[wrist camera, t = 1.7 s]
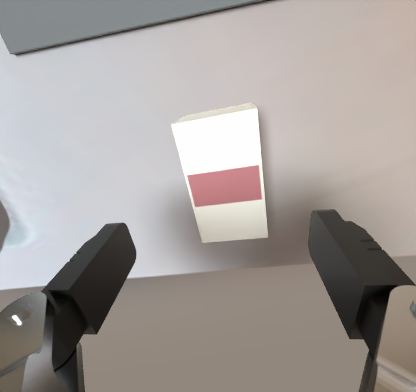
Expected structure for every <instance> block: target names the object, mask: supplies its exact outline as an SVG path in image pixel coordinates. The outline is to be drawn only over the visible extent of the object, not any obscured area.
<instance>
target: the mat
mask: <svg viewBox="0 0 416 392" xmlns="http://www.w3.org/2000/svg"><path fill="white" fill-rule="evenodd" d="M260 1H264V0H0V34H1V36H2V38H3V40H4V42H5V44H6V46H7V49H8V51H9V53H10V54H20V53H24V52H29V51H34V50H38V49H43V48H47V47H52V46H57V45H61V44H66V43H71V42H75V41H80V40H84V39H89V38H94V37H98V36H103V35H108V34H112V33H117V32H121V31H126V30H131V29H135V28H140V27H144V26H149V25H154V24H158V23H163V22H168V21H172V20H177V19H181V18H186V17H191V16H195V15H200V14H204V13H209V12H214V11H218V10H223V9H228V8H232V7H237V6H241V5H246V4H251V3H255V2H260Z"/></svg>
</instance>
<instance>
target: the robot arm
mask: <svg viewBox="0 0 416 392" xmlns="http://www.w3.org/2000/svg"><path fill="white" fill-rule="evenodd" d="M308 245H309V251H310V255H311V258H312V260H313V262H314V264H315V266H316V268H317V270H318V272H319V274H320V277H321V279H322V281H323V283H324V285H325V287H326V290H327V292H328V294H329V296H330V298H331V300H332V302H333V304H334V306H335V309H336V311H337V313H338V315H339V317H340V319H341V322H342V324H343V326H344V328H345V330H346V332H347V334H348V336H349V339H364V341H365V343H366V345H367V346H368V348H369V352H368V354H367V359H366V363H365V367H364V371H363V375H362V380H361V384H360V388H359V392H416V285H415V284H414V283H413V282H412V280H410V278H409V277H408V276H407V275H406V274H405V273H404V272H403V271H402V270H401V268H399V266H398V265H397V264H396V263H395V262H394V261H393V260H392V259H391V258H390V256H389V255H388V254H387V253H386V252H385V251H384V250H382V249H381V247H380V246H379V245H378V243H377V242H376V241H374V239H373V238H372V237H371V236H370V235H369V234H368V233H367V231H366V230H365V229H363V228H362V227H360V226H358V225H356V224H355V223H353V222H351V221H346V222H345V221H344V220H343V219H342V218H341V216H340V215H339V214H338V213H337V212H336V211H335V210H334V209H331V210H316V211H312V213H311V220H310V230H309V240H308ZM135 260H136V249H135V246H134V243H133V241H132V238H131V235H130V233H129V230H128V227H127V225H126V224H125V223H112V224H106V225H105V226H104V227H103V228H102V229H101V230H100V231H99V232H98V233H97V235H96V236H94V237H93V238H91V239H90V240H89V241H87V242H86V243H84V245H83V246H82V247H81V248H80V249H79V250H78V251H77V254H74V256H73V257H72V258H71V259H70V262H67V263H66V264H65V266H64V267H63V268H62V269H61V270H60V271H59V272H58V273H57V274H56V276H55V277H54V278H53V279H52V280H51V281H50V282H49V283H48V284H47V286H46V287H45V288H44V289H43V290H42V291H41V292H34V293H30V294H27V295H25V296H22V297H21V298H19V299H17V300H15V301H13V302H12V303H10V304H9V305H8V306H7V307H5V308H4V309H3V310H2V311H1V312H0V392H85V385H84V370H83V357H82V346H81V343H80V342H79V341H80V339H81V337H82V336H83V334H97V333H98V331H99V329H100V327H101V326H102V324H103V322H104V320H105V318H106V316H107V314H108V312H109V310H110V308H111V306H112V305H113V303H114V301H115V299H116V297H117V295H118V293H119V291H120V289H121V288H122V286H123V284H124V282H125V280H126V278H127V276H128V274H129V272H130V270H131V269H132V267H133V265H134V263H135Z"/></svg>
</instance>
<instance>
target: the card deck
mask: <svg viewBox="0 0 416 392" xmlns="http://www.w3.org/2000/svg"><path fill="white" fill-rule="evenodd" d="M171 125H172V129H173V133H174V137H175V141H176V145H177V148H178V152H179V156H180V160H181V164H182V168H183V172H184V175H185V179H186V183H187V187H188V191H189V195H190V198H191V202H192V206H193V210H194V214H195V218H196V221H197V225H198V229H199V233H200V237H201V241H202V243H209V242H221V241H233V240H244V239H256V238H268V230H267V218H266V206H265V194H264V182H263V170H262V159H261V147H260V135H259V123H258V111H257V107H256V106H255V105H254V104H253V103H247V104H242V105H237V106H232V107H227V108H221V109H216V110H211V111H206V112H201V113H196V114H191V115H186V116H183V117H182V118H180V119H179V120H177V121H176V122H174V123H173V124H171Z"/></svg>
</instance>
